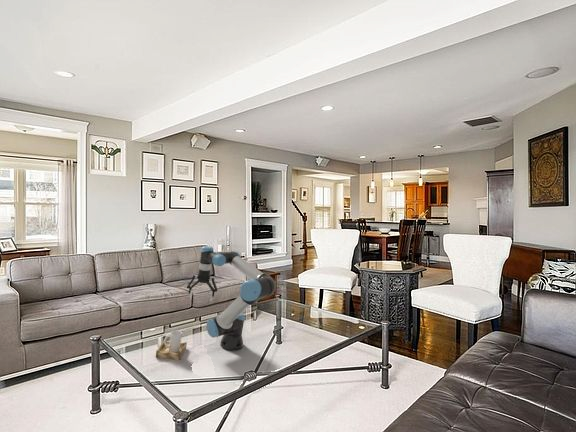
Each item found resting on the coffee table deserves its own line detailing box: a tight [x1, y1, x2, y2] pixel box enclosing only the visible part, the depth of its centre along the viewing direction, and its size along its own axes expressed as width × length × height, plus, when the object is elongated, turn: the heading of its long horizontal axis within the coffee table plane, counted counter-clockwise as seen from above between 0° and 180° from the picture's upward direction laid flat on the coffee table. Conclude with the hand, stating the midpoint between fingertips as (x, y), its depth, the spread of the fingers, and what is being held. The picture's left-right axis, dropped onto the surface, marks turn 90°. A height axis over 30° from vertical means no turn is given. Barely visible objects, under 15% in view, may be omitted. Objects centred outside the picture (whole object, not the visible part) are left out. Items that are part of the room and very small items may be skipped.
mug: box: [163, 329, 183, 353], centre depth 211 cm, size 10×7×12 cm, turn 115°
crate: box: [155, 339, 188, 361], centre depth 212 cm, size 14×14×4 cm
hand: (200, 299), depth 234 cm, fingers open, 13 cm apart
